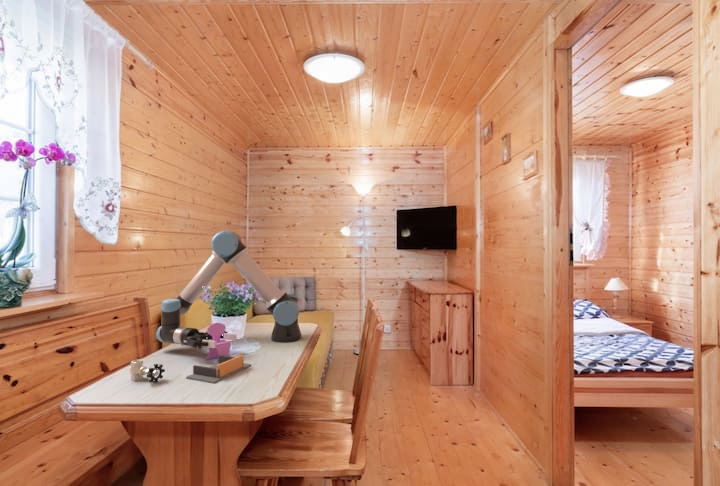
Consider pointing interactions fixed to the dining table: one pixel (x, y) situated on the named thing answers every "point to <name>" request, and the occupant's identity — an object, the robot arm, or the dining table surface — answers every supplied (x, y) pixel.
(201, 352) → the dining table surface
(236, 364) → the grey and orange tray
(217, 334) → the toy chair
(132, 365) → the valve
